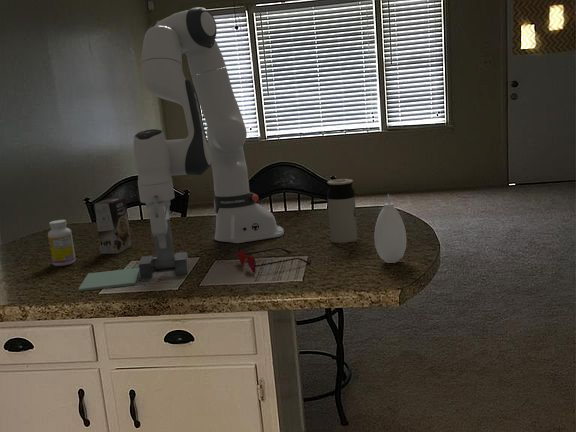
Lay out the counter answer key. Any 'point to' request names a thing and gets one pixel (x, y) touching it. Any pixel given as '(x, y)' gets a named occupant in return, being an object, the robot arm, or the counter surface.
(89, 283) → the mat
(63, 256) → the supplement bottle
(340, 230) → the travel mug
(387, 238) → the sauce bottle
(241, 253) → the glasses
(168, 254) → the grey cylinder
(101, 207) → the coffee box
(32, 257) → the counter surface
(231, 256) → the counter surface
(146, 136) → the robot arm
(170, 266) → the grey tube mount
